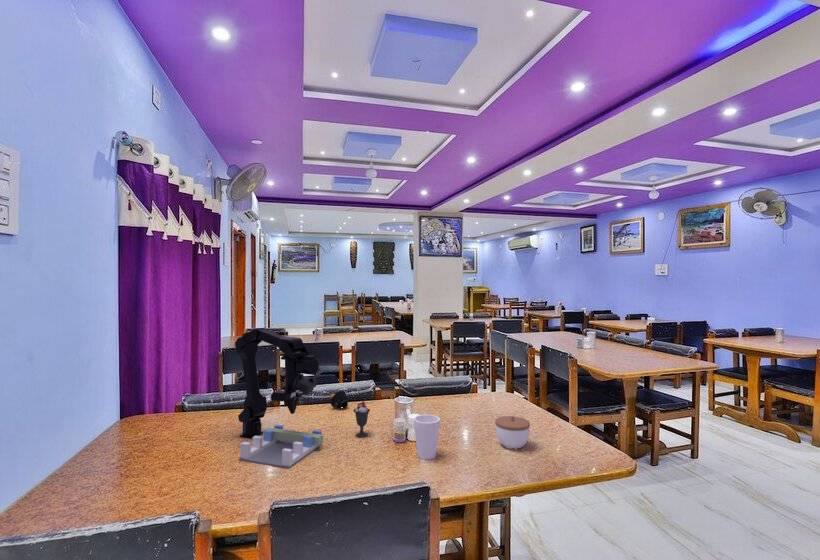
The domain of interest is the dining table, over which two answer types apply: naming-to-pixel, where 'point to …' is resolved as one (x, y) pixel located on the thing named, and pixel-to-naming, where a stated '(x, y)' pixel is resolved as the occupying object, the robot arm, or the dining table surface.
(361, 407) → the sundae
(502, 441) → the lidded bowl
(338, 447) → the dining table surface
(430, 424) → the foam cup
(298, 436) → the green flat block
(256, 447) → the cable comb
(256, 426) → the robot arm
